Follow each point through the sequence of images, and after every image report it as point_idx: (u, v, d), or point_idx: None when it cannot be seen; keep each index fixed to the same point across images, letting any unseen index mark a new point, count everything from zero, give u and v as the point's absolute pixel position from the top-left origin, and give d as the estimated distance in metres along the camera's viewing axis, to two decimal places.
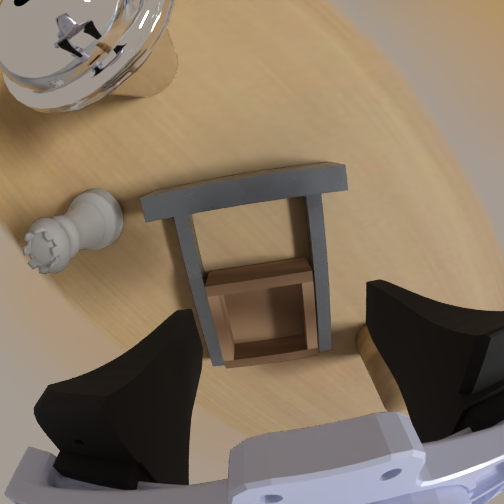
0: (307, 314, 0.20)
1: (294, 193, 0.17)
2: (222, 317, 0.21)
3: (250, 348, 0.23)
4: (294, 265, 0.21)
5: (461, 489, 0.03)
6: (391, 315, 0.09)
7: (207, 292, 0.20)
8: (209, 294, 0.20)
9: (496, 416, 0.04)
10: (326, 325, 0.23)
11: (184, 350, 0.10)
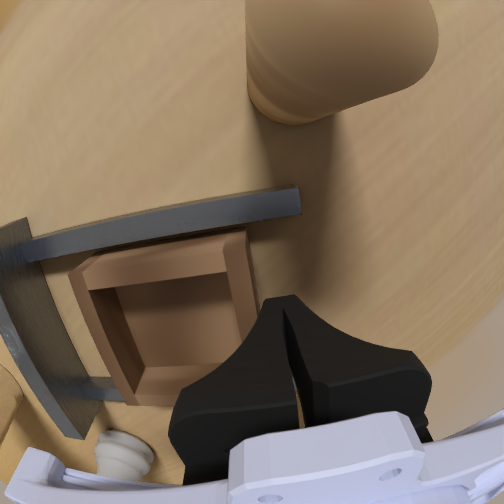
0: (141, 277, 0.10)
1: (2, 306, 0.10)
2: (168, 395, 0.12)
3: None
4: None
5: (461, 489, 0.03)
6: (289, 335, 0.10)
7: (133, 404, 0.12)
8: (135, 403, 0.12)
9: None
10: (232, 207, 0.11)
11: (285, 338, 0.10)
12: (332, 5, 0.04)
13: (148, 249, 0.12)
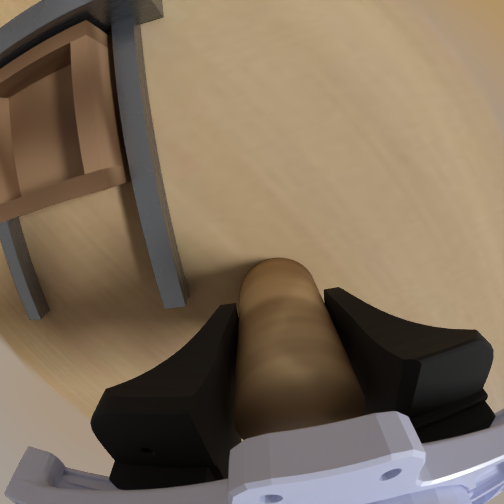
0: (78, 94, 0.09)
1: (61, 11, 0.07)
2: None
3: None
4: None
5: (461, 489, 0.03)
6: (342, 325, 0.10)
7: None
8: None
9: None
10: (163, 254, 0.12)
11: (234, 345, 0.10)
12: (297, 412, 0.07)
13: (107, 93, 0.10)
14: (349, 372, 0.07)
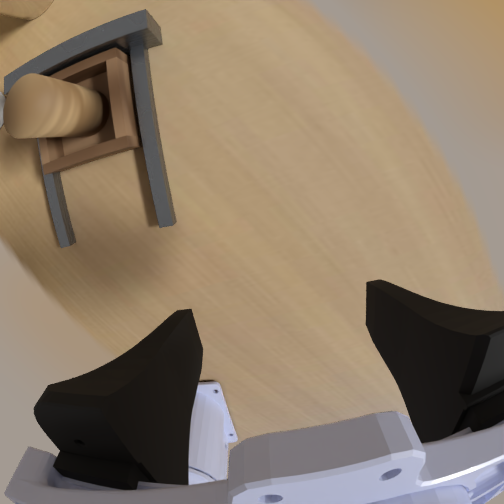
0: (112, 92, 0.16)
1: (100, 41, 0.14)
2: None
3: None
4: None
5: (461, 489, 0.03)
6: (391, 315, 0.09)
7: None
8: None
9: (496, 416, 0.04)
10: (160, 190, 0.19)
11: (184, 350, 0.10)
12: (22, 100, 0.11)
13: (128, 92, 0.17)
14: (44, 76, 0.11)
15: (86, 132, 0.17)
